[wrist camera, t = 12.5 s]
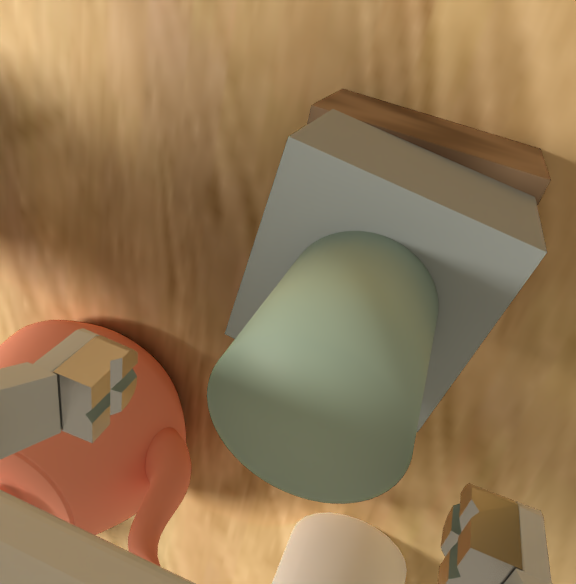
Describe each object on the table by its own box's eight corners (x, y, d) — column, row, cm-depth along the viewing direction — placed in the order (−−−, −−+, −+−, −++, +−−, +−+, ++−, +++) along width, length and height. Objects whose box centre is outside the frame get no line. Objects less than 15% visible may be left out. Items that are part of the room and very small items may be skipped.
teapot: (252, 337, 32) (140, 489, 22) (258, 498, 39) (176, 668, 29) (-16, 281, 38) (-200, 379, 28) (32, 429, 46) (-100, 548, 36)
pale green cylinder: (277, 334, 19) (198, 453, 14) (304, 210, 16) (218, 302, 11) (409, 384, 18) (376, 531, 13) (462, 261, 15) (447, 387, 10)
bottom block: (299, 254, 28) (266, 296, 24) (343, 87, 23) (311, 105, 19) (457, 313, 27) (451, 369, 23) (540, 147, 22) (550, 180, 18)
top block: (271, 277, 24) (224, 333, 19) (332, 108, 19) (288, 136, 15) (431, 355, 23) (417, 432, 18) (535, 197, 18) (547, 252, 14)
